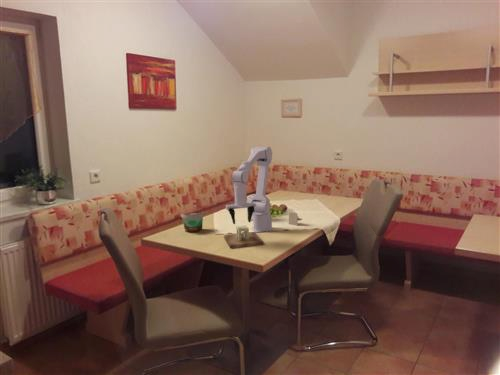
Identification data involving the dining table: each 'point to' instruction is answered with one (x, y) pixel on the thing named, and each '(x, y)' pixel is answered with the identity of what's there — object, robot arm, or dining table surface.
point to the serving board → (243, 240)
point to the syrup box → (249, 202)
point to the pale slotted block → (240, 229)
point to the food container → (193, 222)
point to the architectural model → (293, 218)
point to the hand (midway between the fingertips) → (241, 222)
